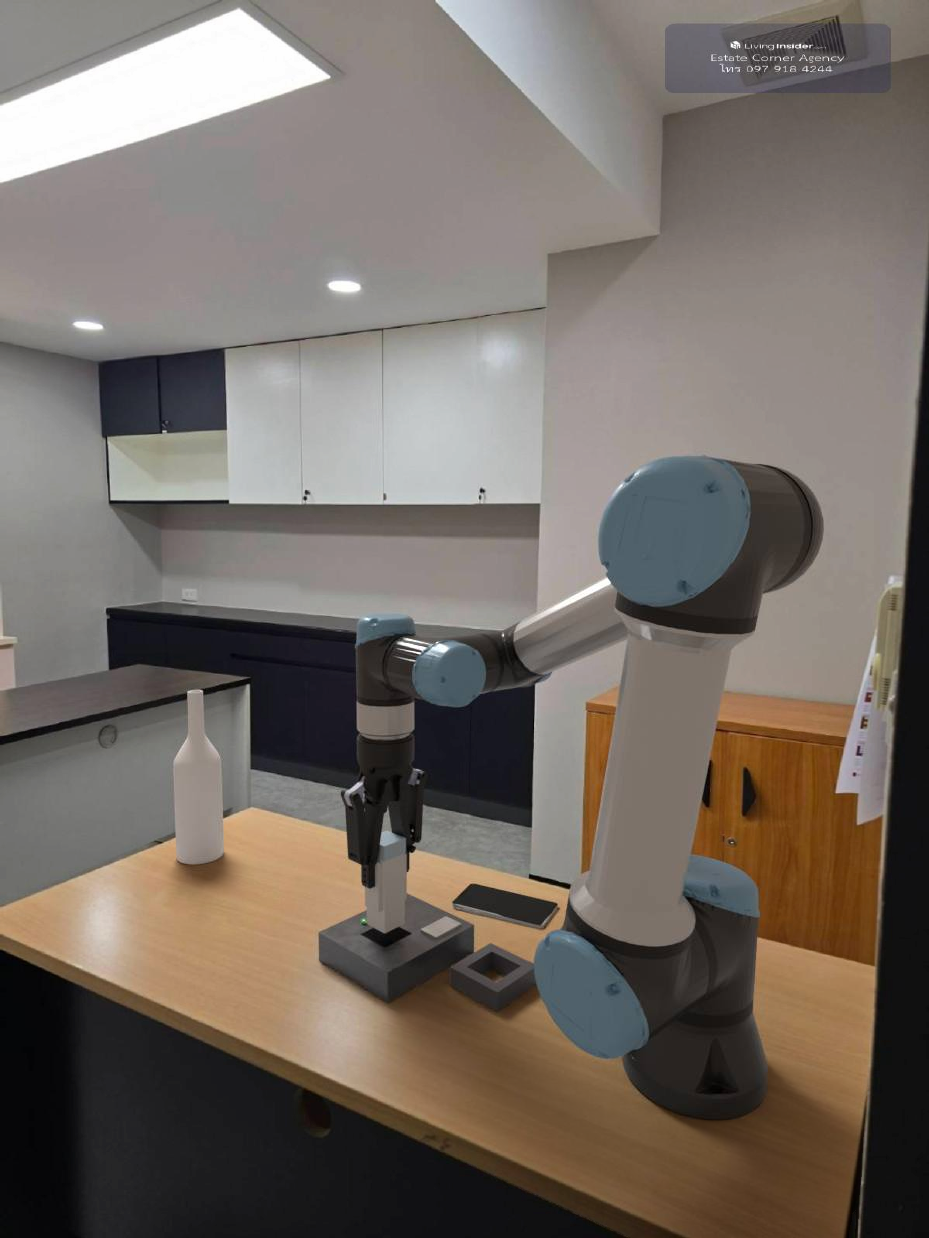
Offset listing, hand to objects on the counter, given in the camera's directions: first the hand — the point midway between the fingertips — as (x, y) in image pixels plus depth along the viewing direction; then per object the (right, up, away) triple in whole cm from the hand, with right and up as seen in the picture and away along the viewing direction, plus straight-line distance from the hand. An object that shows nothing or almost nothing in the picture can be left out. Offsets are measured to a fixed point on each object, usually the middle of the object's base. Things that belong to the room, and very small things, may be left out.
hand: (386, 902), depth 103 cm
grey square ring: (+14, -9, -4) cm, 17 cm away
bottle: (-37, -5, +35) cm, 51 cm away
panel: (+1, -8, +2) cm, 9 cm away
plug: (0, -3, 0) cm, 3 cm away
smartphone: (+17, -8, +17) cm, 25 cm away
